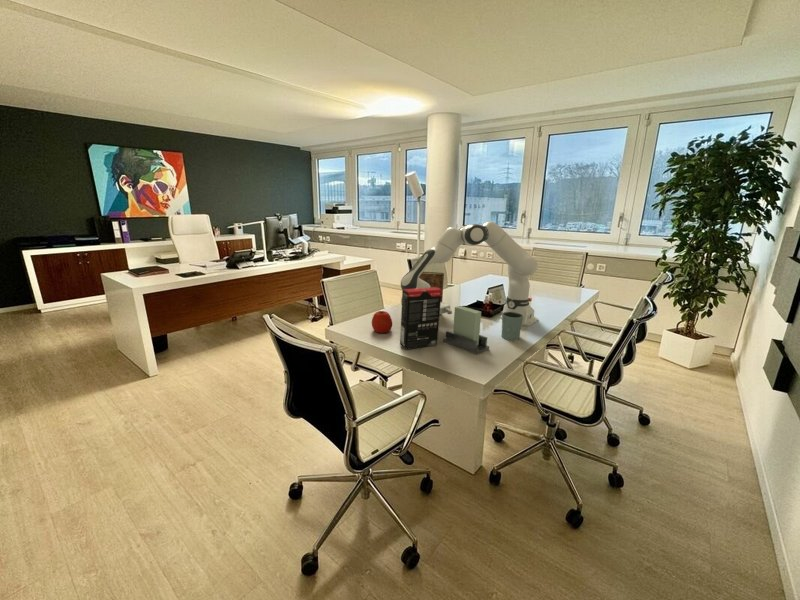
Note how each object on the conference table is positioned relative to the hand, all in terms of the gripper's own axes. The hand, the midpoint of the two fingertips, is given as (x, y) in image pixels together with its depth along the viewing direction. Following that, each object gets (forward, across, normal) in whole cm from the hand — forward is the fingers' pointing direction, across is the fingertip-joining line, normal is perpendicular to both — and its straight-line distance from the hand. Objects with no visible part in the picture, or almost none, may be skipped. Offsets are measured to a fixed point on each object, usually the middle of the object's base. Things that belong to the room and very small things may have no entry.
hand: (444, 314), depth 167 cm
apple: (-25, -19, +12) cm, 34 cm away
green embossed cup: (+21, +27, +12) cm, 36 cm away
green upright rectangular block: (+14, 0, +10) cm, 17 cm away
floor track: (+14, 0, +12) cm, 18 cm away
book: (-32, +21, +12) cm, 40 cm away
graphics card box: (+1, -17, +12) cm, 21 cm away
